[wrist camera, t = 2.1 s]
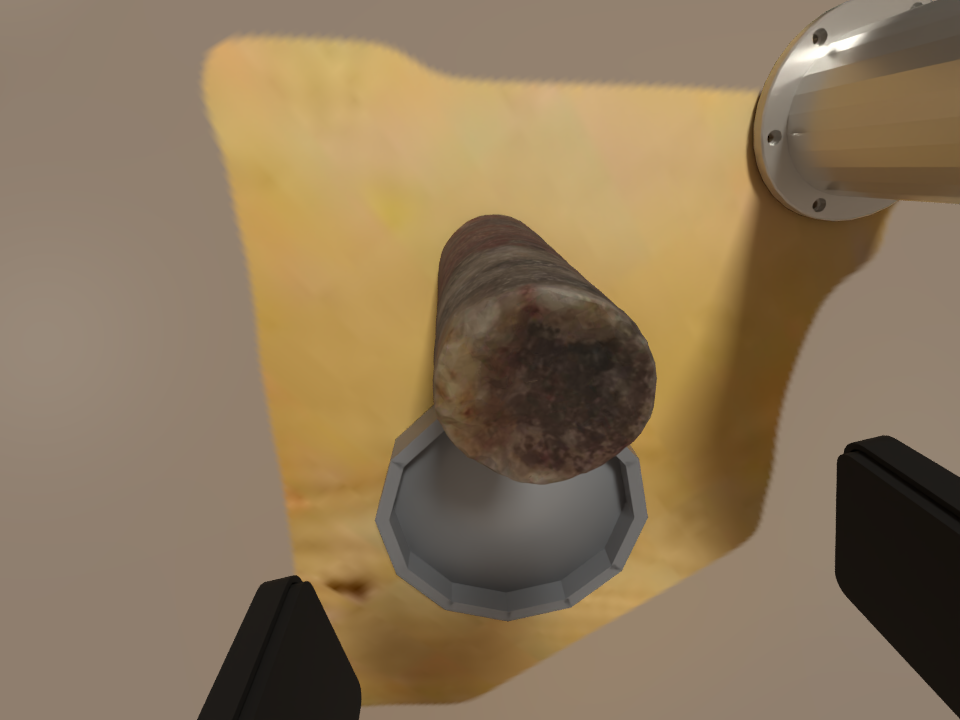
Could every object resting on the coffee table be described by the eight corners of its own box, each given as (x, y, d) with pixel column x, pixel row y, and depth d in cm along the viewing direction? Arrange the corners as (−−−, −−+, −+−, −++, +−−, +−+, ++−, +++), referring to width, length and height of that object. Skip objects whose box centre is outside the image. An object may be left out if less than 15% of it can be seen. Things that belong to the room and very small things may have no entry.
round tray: (612, 353, 36) (625, 368, 34) (645, 561, 44) (658, 588, 41) (350, 417, 37) (341, 437, 35) (424, 610, 44) (422, 640, 42)
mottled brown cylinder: (565, 296, 35) (690, 444, 16) (471, 342, 36) (487, 532, 17) (519, 193, 32) (605, 226, 14) (419, 245, 33) (370, 344, 14)
